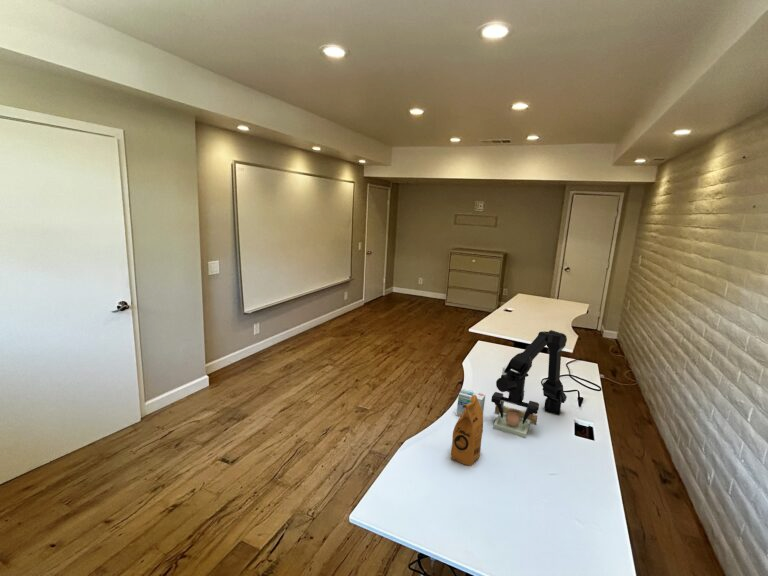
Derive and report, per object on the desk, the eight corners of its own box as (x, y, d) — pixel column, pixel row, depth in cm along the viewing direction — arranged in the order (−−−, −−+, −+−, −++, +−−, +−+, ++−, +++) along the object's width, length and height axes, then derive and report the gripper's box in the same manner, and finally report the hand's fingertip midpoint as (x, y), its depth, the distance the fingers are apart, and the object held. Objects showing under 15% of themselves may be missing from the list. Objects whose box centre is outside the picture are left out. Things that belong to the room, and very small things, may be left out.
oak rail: (536, 423, 168) (537, 415, 167) (536, 425, 167) (537, 416, 166) (495, 411, 177) (496, 403, 176) (494, 413, 175) (495, 405, 174)
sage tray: (529, 424, 167) (530, 420, 167) (525, 438, 156) (525, 433, 156) (499, 415, 173) (500, 411, 173) (493, 428, 162) (493, 424, 162)
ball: (520, 424, 166) (522, 411, 165) (518, 430, 161) (519, 417, 160) (506, 419, 169) (507, 407, 168) (503, 426, 163) (505, 413, 162)
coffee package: (445, 458, 140) (451, 402, 136) (459, 443, 150) (465, 390, 146) (471, 469, 134) (477, 411, 130) (484, 452, 144) (490, 398, 140)
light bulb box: (455, 415, 171) (458, 393, 169) (460, 409, 177) (462, 387, 175) (479, 422, 166) (482, 399, 164) (483, 416, 172) (485, 394, 170)
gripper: (542, 385, 164) (537, 419, 167) (498, 375, 173) (494, 407, 176) (539, 395, 155) (534, 430, 157) (492, 383, 163) (489, 417, 166)
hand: (512, 420), depth 164 cm, fingers open, 8 cm apart
